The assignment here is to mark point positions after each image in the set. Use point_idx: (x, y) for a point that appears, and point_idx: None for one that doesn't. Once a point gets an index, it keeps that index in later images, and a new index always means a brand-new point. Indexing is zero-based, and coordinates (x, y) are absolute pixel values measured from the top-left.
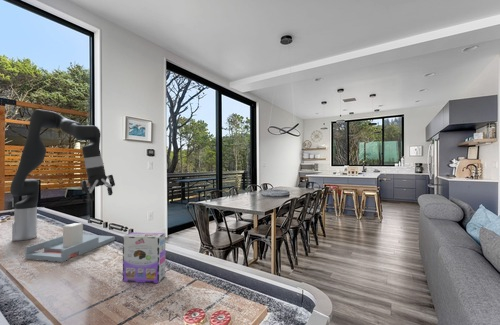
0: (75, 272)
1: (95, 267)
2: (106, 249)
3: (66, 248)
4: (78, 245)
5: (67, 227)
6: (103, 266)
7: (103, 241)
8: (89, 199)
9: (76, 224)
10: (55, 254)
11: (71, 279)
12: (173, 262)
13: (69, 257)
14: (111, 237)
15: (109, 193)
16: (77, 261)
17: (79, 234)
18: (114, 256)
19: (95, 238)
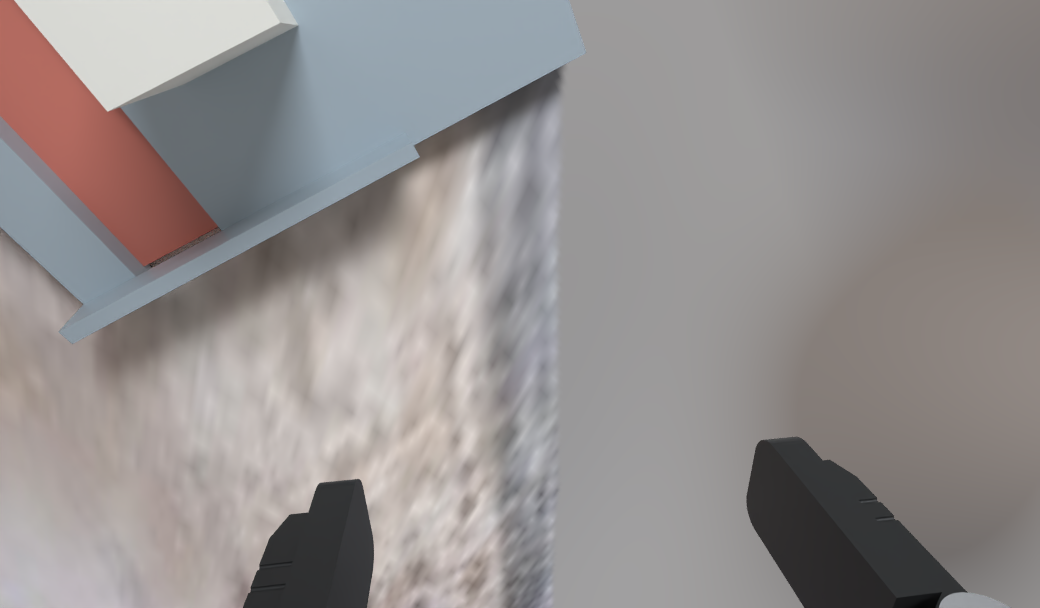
0: (176, 502)
1: (280, 495)
2: (429, 250)
3: (104, 311)
4: (215, 264)
5: (45, 25)
6: None
7: (462, 117)
8: (286, 523)
9: (182, 9)
10: (31, 193)
11: (149, 565)
12: (549, 604)
13: (159, 257)
14: (554, 63)
15: (775, 519)
16: (207, 351)
17: (247, 46)
18: (413, 409)
19: (384, 175)
